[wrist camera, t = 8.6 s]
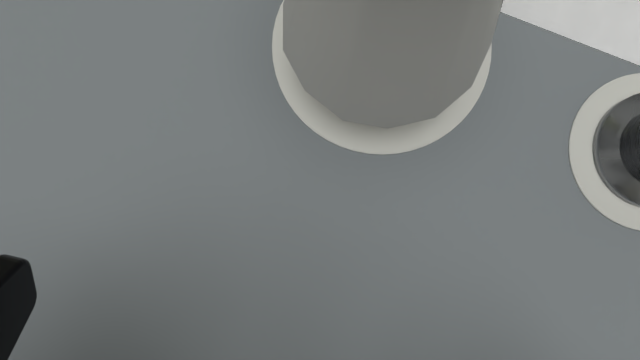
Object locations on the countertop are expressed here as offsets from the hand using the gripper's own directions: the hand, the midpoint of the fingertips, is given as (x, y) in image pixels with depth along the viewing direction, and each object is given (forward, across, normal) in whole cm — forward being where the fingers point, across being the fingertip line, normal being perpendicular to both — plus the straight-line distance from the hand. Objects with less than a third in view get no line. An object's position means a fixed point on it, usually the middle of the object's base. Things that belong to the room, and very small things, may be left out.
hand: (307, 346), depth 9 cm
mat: (+9, +1, +5) cm, 10 cm away
